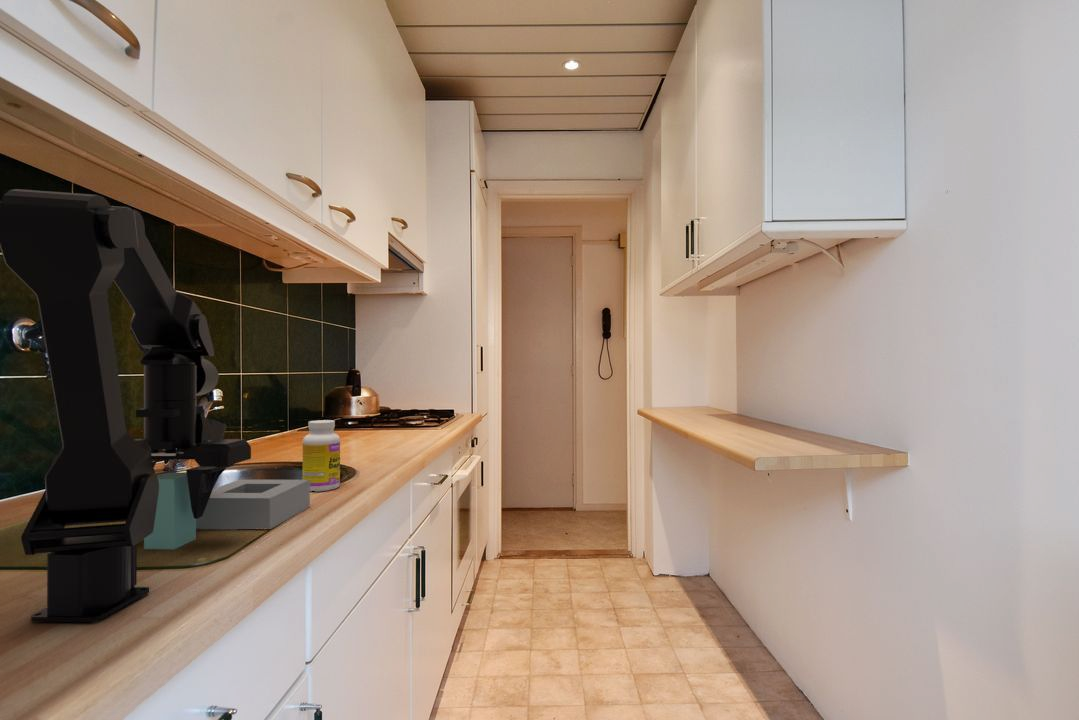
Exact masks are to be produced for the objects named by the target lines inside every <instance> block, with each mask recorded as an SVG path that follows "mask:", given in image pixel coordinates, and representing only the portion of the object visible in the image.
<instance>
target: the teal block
mask: <svg viewBox="0 0 1079 720" xmlns="http://www.w3.org/2000/svg"><path fill="white" fill-rule="evenodd" d="M156 476H157V478H158V481H159V494H158V501H157V508H156V515H155V522H154V529H153V532H152V533H151V534H150V535H148V536H147V537H146V538H144V539H143V549H144V550H176V549H178V548H180V547H182V546H184V545H187V544H189V543H190V542H193V541H195V540H196V539H197V529H196V519H194V516H193V513H192V509H191V502H190V495H189V487H188V480H187V473H186V472H165V473H162V474H157V475H156Z"/></svg>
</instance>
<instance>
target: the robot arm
mask: <svg viewBox="0 0 1079 720" xmlns="http://www.w3.org/2000/svg"><path fill="white" fill-rule="evenodd" d="M145 229H146V227H145V221H144V218H143V216H142V214H141V212H139V211H138V210H136V209H132V208H130V207H129V206H118V205H117V206H115V205H111V204H110V203H109V201H108V200H107V199H106V198H105V197H104V196H102V195H99V194H90V193H75V192H74V193H73V192H65V191H63V192H61V191H49V190H48V191H46V190H34V189H33V190H32V189H21V188H15V189H9V190H8V191H6V192H5V193H4V194H3V195H2V198H1V200H0V251H1V254H2V257H3V260H4V263H5V265H6V266H7V268H9V269H10V270H11V271H12V273H13V274H15V275H16V276H17V277H18V278H19V280H21V282H22V283H23V284H25V285H26V286H27V288H29V289H30V290H31V291H32V292H33V293H34V294H35V296H36V300H37V304H38V312H39V317H40V322H41V329H42V334H43V340H44V346H45V351H46V352H45V353H46V356H47V357H46V358H47V362H48V368H49V369H48V370H49V373H50V380H51V386H52V391H53V392H52V393H53V397H54V405H55V408H56V414H57V421H58V428H59V431H60V437H61V444H62V447H61V449H60V451H59V453H58V455H57V456H56V458H55V459H54V460H53V462H52V464H51V465H50V467H49V468H48V470H47V472H46V474H45V475H44V486H45V487H44V488H45V490H44V492H43V494H42V496H41V498H40V499H39V502H38V503H37V505H36V507H35V509H34V511H33V513H32V514H31V516H30V519H29V520H28V522H27V525H26V526H25V528H24V530H23V532H22V534H21V537H20V538H21V539H20V540H21V542H22V543H21V544H22V547H23V551H24V554H25V556H34V555H36V554H37V555H38V554H47V556H46V560H47V561H46V563H47V564H46V567H47V568H46V572H47V573H46V578H47V579H46V608H43V609H42V610H39V611H37V612H35V613H33V614H31V615H30V622H42V623H43V622H51V623H53V622H54V623H55V622H56V623H57V622H58V623H62V622H63V623H71V622H72V623H96V622H99V621H101V620H103V619H104V618H107V617H108V616H110V615H112V614H114V613H115V612H117V611H119V610H121V609H123V608H124V607H126V606H128V605H130V604H131V603H134V602H135V601H137V600H139V599H140V598H142V597H145V595H147V594H150V587H146V586H145V587H144V586H143V587H142V586H137V582H138V580H137V579H138V577H137V575H138V573H137V569H138V568H137V564H138V563H137V560H138V559H137V558H138V555H137V553H138V552H137V551H138V550H137V546H136V545H137V544H138V543H140V542H141V541H144V538H146V537H147V536H148V535H150V534H151V533H152V532H153V529H154V522H155V515H156V508H157V501H158V494H159V481H158V478H157V475H156V471H155V466H156V464H157V462H158V461H157V460H194V461H195V462H196V464H197V466H195V467H192V468H191V467H190V468H188V469H186V470H185V473H187V480H188V487H189V495H190V502H191V509H192V513H193V516H194V519H198V518H200V517H202V515H203V513H204V510H205V508H206V505H207V503H208V500H209V498H210V495H211V493H212V490H213V489H214V488H215V486H216V483H217V481H218V479H219V478H220V476H222V473H223V472H224V471H225V470H227V468H230V467H231V468H232V467H234V466H235V464H238V463H241V462H245V461H248V460H251V459H252V447H251V445H250V443H249V442H248V441H247V439H245V438H241V439H240V438H224V436H225V433H226V428H227V424H226V423H222V422H221V421H218V420H215V419H213V418H208V417H206V416H205V413H206V412H205V408H204V405H197V401H198V400H197V396H202V395H206V394H209V393H210V392H211V391H213V390H214V389H215V388H216V386H217V385H218V382H219V379H220V378H219V376H220V375H219V371H218V369H217V367H216V366H215V364H213V363H212V362H211V361H209V359H205V357H214V356H215V351H214V345H213V342H212V337H211V333H210V329H209V325H208V321H207V317H206V315H205V314H202V311H201V309H200V308H199V306H198V305H197V304H196V303H195V301H194V300H193V299H192V298H191V297H188V296H186V295H184V294H182V293H180V292H178V291H177V290H176V289H175V288H174V286H173V283H172V282H171V280H170V279H169V277H168V274H167V273H166V271H165V269H164V266H162V264H161V261H160V260H159V258H158V255H157V253H156V252H155V249H153V246H152V244H151V243H150V240H149V239H148V237H147V235H146V230H145ZM113 282H114V284H115V285H116V286H117V288H118V289H119V291H120V293H122V295H123V297H124V298H125V300H126V302H128V304H129V306H130V308H131V309H132V311H133V314H132V317H131V321H130V324H129V329H130V332H131V334H132V336H133V338H134V339H135V342H136V343H137V346H138V348H139V350H140V352H143V354H144V355H143V356H142V357H141V359H140V360H139V364H140V365H141V366H143V408H138V409H135V418H143V438H140V439H139V438H136V439H135V438H133V437H132V436H131V435H130V434H129V433H128V432H127V427H126V421H125V420H126V419H125V413H124V412H125V411H124V406H123V399H122V391H121V383H120V377H119V370H118V363H117V362H118V361H117V356H116V355H117V354H116V350H115V349H116V348H115V342H114V334H113V327H112V320H111V319H112V318H111V312H110V303H109V298H108V290H109V289H110V287H111V286H112V284H113ZM159 450H161V451H159ZM119 522H124V523H119ZM108 523H116V524H108ZM94 524H95V525H94ZM96 524H103V525H96ZM82 525H83V526H82ZM84 525H88V526H84ZM89 525H90V526H89ZM68 526H70V527H68ZM71 526H77V527H71Z"/></svg>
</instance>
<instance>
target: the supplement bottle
mask: <svg viewBox="0 0 1079 720" xmlns="http://www.w3.org/2000/svg"><path fill="white" fill-rule="evenodd" d="M335 422H336V421H335V420H331V419H323V420H322V419H321V420H320V419H317V420H310V421H308V423H307V424H308V425H307V426H308V432H309V433H308V434H306V435H305V436H304V437H303V438H302V477H301V478H302V479H301V480H310V493H311V492H312V491H315V492H327V491H332V490H334V489H337V488H339V486H340V484H341V437H340V436H339V434H338V433H335V432H334V431H335V430H334V429H335V426H336V423H335ZM315 492H314V493H315ZM312 493H313V492H312Z"/></svg>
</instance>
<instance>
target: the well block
mask: <svg viewBox="0 0 1079 720" xmlns="http://www.w3.org/2000/svg"><path fill="white" fill-rule="evenodd" d="M310 493H311V491H310V480H302V479H237V480H234V481H231V482H229V483H225V484H223V485H221V486H218V487H214V488H213V490H212V493H211V495H210V498H209V500H208V503H207V505H206V508H205V510H204V513H203V515H202V517H200V518H198V519H196V530H232V531H233V530H237V529H257V528H258V529H261V528H262V529H264V528H266V529H270V530H272V529H273V528H275V527H277V526H279V525H281V524H282V523H284V522H287V521H289V519H291V518H293V517H295V516H297V515H299V514H300V513H302V512H304V511H305V510H307V509H309V508H310V507H311V503H310V502H311V494H310Z"/></svg>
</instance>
